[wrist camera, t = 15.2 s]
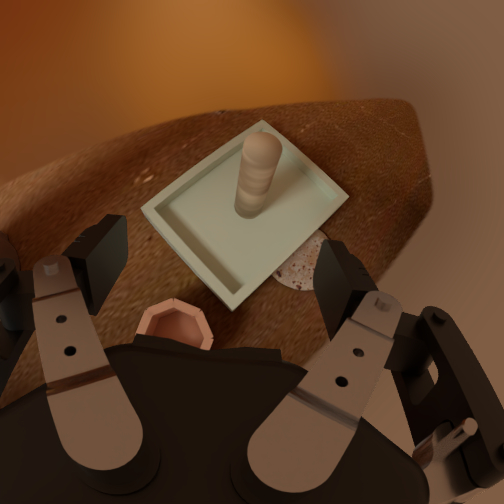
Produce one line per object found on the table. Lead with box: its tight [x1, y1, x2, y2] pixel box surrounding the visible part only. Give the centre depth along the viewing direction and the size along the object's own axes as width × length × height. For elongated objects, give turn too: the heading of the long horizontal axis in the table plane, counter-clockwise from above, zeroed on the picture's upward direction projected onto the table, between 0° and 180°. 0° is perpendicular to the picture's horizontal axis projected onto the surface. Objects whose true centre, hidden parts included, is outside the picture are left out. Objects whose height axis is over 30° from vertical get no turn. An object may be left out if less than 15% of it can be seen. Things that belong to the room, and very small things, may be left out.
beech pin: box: [234, 132, 283, 219], centre depth 27 cm, size 3×3×11 cm
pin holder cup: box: [135, 298, 214, 350], centre depth 27 cm, size 7×7×4 cm
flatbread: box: [271, 229, 329, 290], centre depth 32 cm, size 8×8×1 cm
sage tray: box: [141, 119, 349, 312], centre depth 32 cm, size 18×14×2 cm
